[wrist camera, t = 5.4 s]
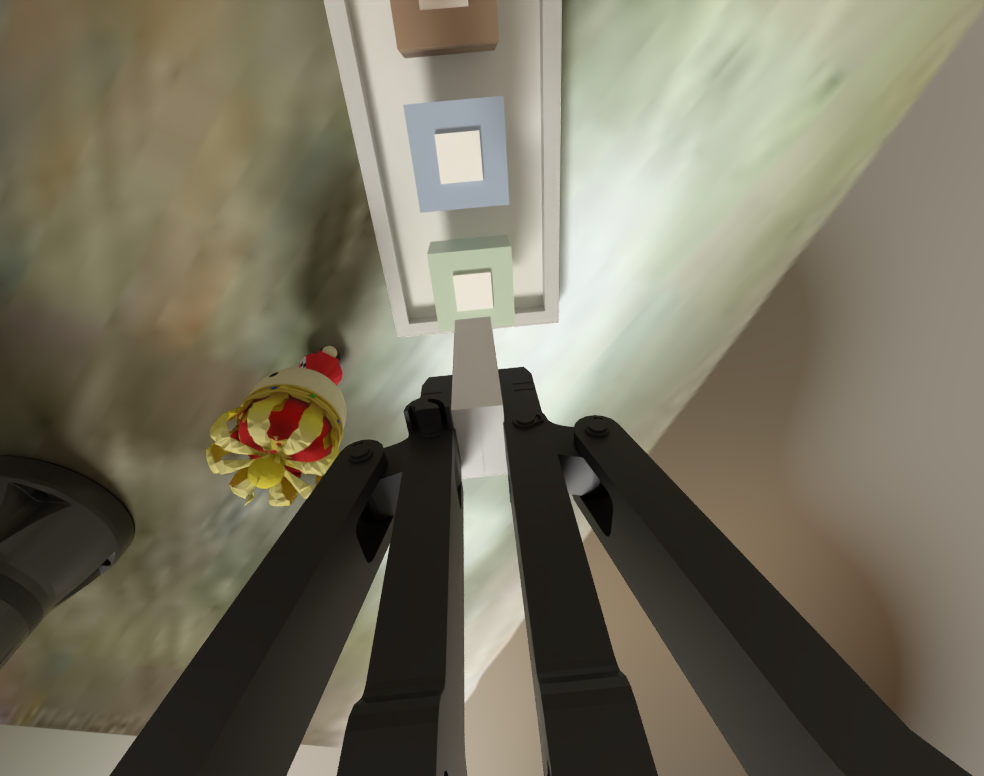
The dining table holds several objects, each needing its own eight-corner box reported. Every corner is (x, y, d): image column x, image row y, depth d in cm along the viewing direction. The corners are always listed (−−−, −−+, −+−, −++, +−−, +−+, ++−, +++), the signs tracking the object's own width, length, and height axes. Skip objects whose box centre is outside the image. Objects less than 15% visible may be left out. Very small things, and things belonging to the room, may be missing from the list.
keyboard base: (401, 326, 32) (397, 337, 31) (252, -376, 16) (228, -434, 15) (553, 312, 32) (558, 322, 31) (556, -400, 16) (566, -460, 15)
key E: (441, 313, 28) (439, 333, 26) (430, 241, 26) (426, 255, 23) (510, 306, 29) (515, 325, 26) (506, 234, 26) (511, 247, 23)
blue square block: (424, 203, 25) (420, 213, 22) (410, 107, 22) (402, 104, 19) (504, 196, 25) (509, 205, 22) (499, 99, 22) (504, 95, 19)
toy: (299, 305, 31) (187, 429, 18) (388, 350, 33) (341, 487, 21) (269, 375, 34) (154, 523, 21) (352, 412, 36) (293, 564, 24)
